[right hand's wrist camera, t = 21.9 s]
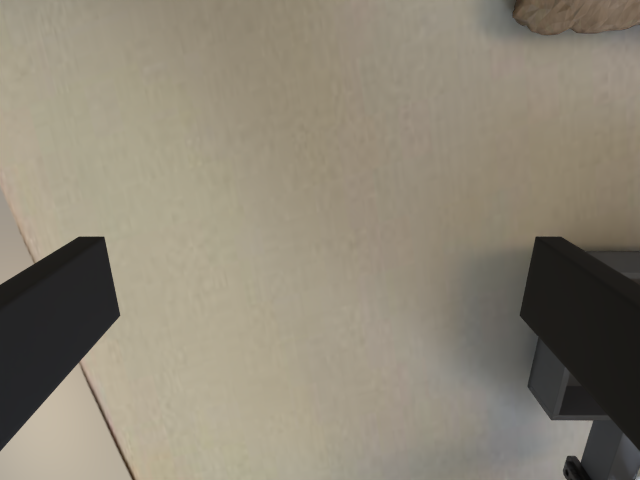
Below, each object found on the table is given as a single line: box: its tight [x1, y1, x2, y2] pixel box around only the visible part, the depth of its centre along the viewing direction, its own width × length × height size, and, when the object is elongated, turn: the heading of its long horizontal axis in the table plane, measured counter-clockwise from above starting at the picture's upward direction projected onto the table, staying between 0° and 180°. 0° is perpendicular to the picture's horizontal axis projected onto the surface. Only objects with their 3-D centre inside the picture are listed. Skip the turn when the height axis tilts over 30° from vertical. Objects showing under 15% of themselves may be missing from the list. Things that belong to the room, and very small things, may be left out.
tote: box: [528, 252, 640, 480], centre depth 38 cm, size 27×15×6 cm, turn 0°
